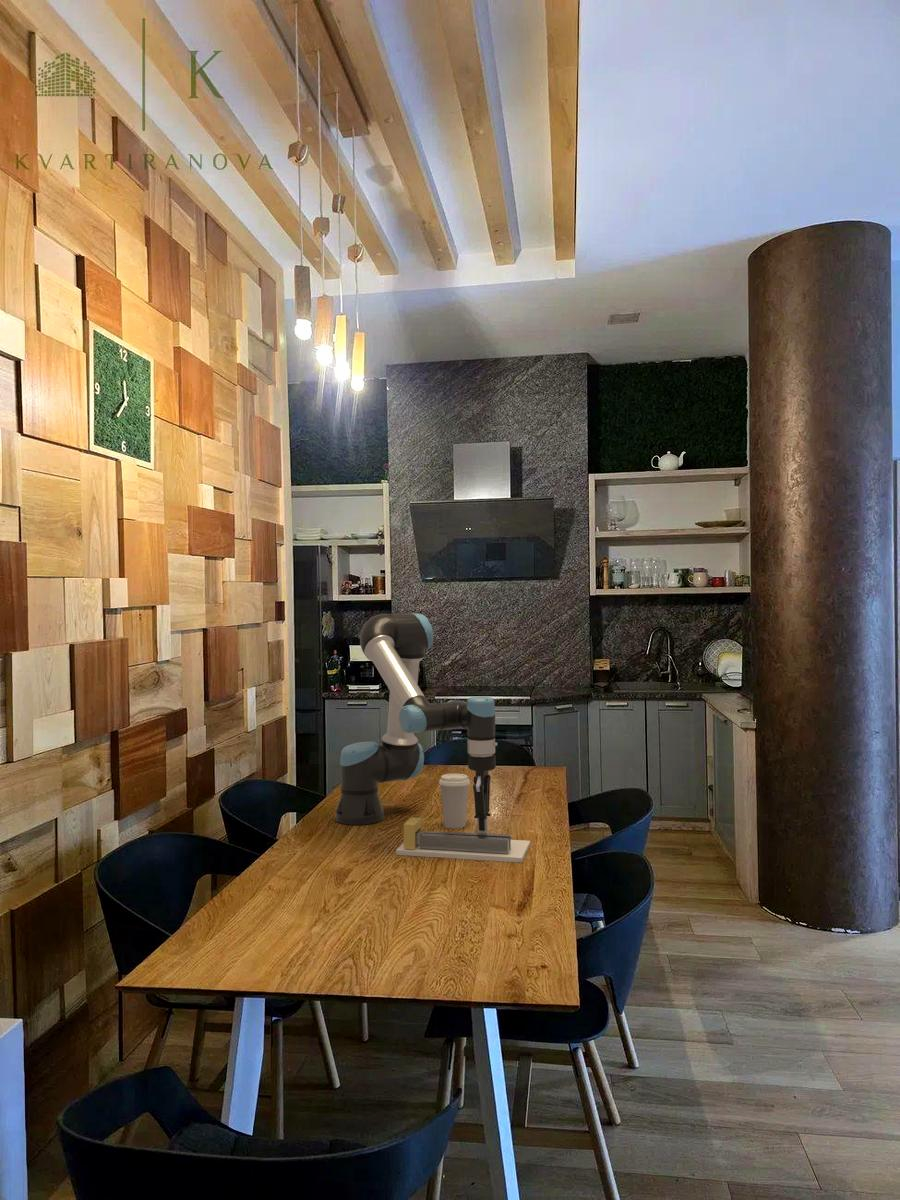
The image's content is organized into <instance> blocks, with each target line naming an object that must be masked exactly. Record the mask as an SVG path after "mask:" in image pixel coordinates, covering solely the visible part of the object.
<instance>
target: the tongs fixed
mask: <svg viewBox="0 0 900 1200" xmlns="http://www.w3.org/2000/svg"><path fill="white" fill-rule="evenodd" d="M419 844H420V848H425V849H441V850H458V851H474V852H491V853H507V854H508V853H509V838H499V837H481V836H463V835H445V834H428V833H421V834H420V831H418V830H417V831H416V832H415V847H417V846H418V845H419Z"/></svg>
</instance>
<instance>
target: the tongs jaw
mask: <svg viewBox="0 0 900 1200" xmlns="http://www.w3.org/2000/svg"><path fill="white" fill-rule="evenodd" d="M422 833H428V834H445V835H463V836H481V837H499V838H509V850H510V849H511V840H512V834H510V833H509V834H506V833H505V834H504V833H488V834H486V833H477V832H464V831H463V832H459V831H458V832H457V831H439V830H437V831H436V830H434V831H433V830H422Z"/></svg>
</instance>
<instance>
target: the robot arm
mask: <svg viewBox="0 0 900 1200" xmlns="http://www.w3.org/2000/svg"><path fill="white" fill-rule="evenodd" d="M433 644H434V631H433V627H432V624H431V622H430V620H429V619H428V618H427V616H425V615H424V614H421V613H415V612H414V613H413V612H407V613H406V612H405V613H403V612H402V613H380V614H376V615H374V616H371V617H370V618H369V619H367V621H366V622H365V623H364V625H363V626H362V629H361V631H360V635H359V645H360V648H361V651H362V653H363V655H364V656H365V657H366V659H367V660H369V661H371V662H372V663H373V664H374V666H375V668H376V669H377V671H378V674H379V675H380V677H381V678H382V680H383V681H384V683H385V685H386V686H387V688H388V690H389V699H388V713H387V714H388V715H387V729H386V733H385V734H383V735H382V737H381V744H380V745H378V742H376V741H373V740H372V741H369V740H368V741H359V742H355V743H354V742H353V743H351V744H348V745H346V746H344V747H343V748H342V749H341V751H340V760H339V765H340V767H339V768H340V796H339V799H338V803H337V805H336V808H335V812H334V813H335V815H334V817H335V818H334V819H335V820H334V821H335V822H337V823H340V824H344V825H350V826H351V825H352V826H353V825H355V826H358V825H359V826H361V825H362V826H364V825H372V824H376V823H379V822H381V821H383V820H384V819H385V812H384V811H385V810H384V807H383V804H382V801H381V798H380V795H379V784H383V783H390V782H398V781H407V780H410V779H414V778H416V777H418V776H419V774H421V771H422V770H423V767H424V762H425V753H424V749H423V746H422V744H421V743H419V739H418V737H417V736H415V734H421V733H426V732H427V733H428V732H429V733H430V732H435V731H447V730H458V729H461V730H467V754H468V755H467V768H468V769H469V770H470V771H475V776H473V785H472V788H473V797H474V811H475V812H474V813H475V815H474V816H473V817H474V819H476V822H477V824H476V825H477V832H476V833H486V834H489V817H491V816H492V815H491V814H492V813H490V800H491V799H490V798H491V797H490V795H491V793H490V792H491V791H490V789H491V779H492V777H491V775H490V774H489V771H494V770H495V769H496V768H497V767H496V765H497V763H496V761H497V760H496V759H497V758H496V757H497V756H496V755H495V754H496V747H497V746H498V742H496V713H497V712H496V709H495V707H496V706H495V699H493V697H490V696H471V697H468V699H467V700H466V701H465V700H464V701H463V700H461V699H457V700H456V699H453V700H452V699H451V700H448V701H447V702H435V703H434V702H433V703H430V702H429V701H428V699H427V698H426V696H425V695H424V693H423V692H422V690H421V688H420V687H419V685H418V684H419V683H418V682H419V670H420V662H421V661H422V660H423V659H425V656H426V655H425V653H426V651H428V650H429V649H431V648H432V645H433Z"/></svg>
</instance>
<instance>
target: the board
mask: <svg viewBox="0 0 900 1200" xmlns="http://www.w3.org/2000/svg"><path fill="white" fill-rule="evenodd" d="M530 847H531V840H524V839H523V840H522V839H511V849H510V850H509V853H508V854H507V853H491V852H474V851H458V850H441V849H425V848H420V844H419V845H418V846H417V847H416V849H404V842H402V844H401V845H400V846H399V847H397V849H395V855H397V856H412V857H413V856H414V857H428V858H441V859H456V860H457V859H458V860H473V861H474V860H475V861H488V862H504V863H505V862H506V863H523V861H524V860H525V857H526V855H527V853H528V851H529V849H530Z"/></svg>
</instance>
